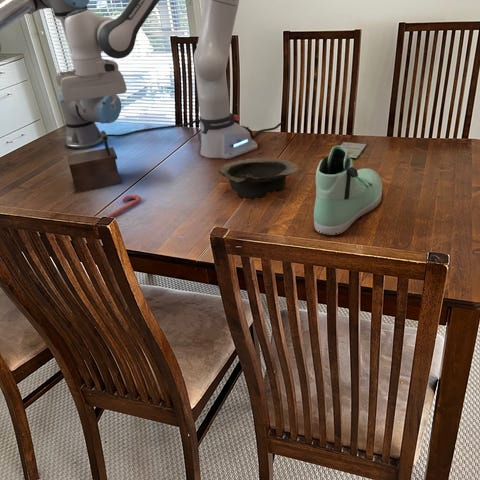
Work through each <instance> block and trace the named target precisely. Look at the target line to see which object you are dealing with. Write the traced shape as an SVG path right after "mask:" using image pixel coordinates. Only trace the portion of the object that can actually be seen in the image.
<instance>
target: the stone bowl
mask: <svg viewBox="0 0 480 480" xmlns="http://www.w3.org/2000/svg"><path fill="white" fill-rule="evenodd" d="M298 170H299V169H298V167H297V166H296V164H295V163H293V162H291V161H289V160H287V159H281V158H272V157H271V158H269V157H255V158H243V159H239V160H235V161H232V162H231V161H230V162H228V163H225V164H223V165H222V166H221V168H220V169H219V170H217V173H219V174H220V175H221V176H223V177H224V178H226V179H227V180H228V182H229V186H230V188H231V190H232V191H234V192H235V193H236V196H237V198H239V199H241V200H243V199H245V200H251V201H252V200H255V199H257V200H262V199H264V198H266V197H267V196H268V193H269V194H273V193H281V192H282V191H284V190H285V189H284V188H285V185H286V183H287V182H286V181H287V177H289V176H290V175H292V174H294V173H296V172H297V171H298Z"/></svg>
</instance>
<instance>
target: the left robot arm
mask: <svg viewBox="0 0 480 480" xmlns="http://www.w3.org/2000/svg"><path fill="white" fill-rule="evenodd" d="M89 2H90V0H0V32H1V31H2V30H4V29H5V28H7V27H9V26H10V25H11V24H14V22H16V21H18V20H19V19H21V18H22V17H23V16H25V15H26V14H27V15H32V14H35V12H37V11H40V10H45V9H52V12H53V15H54V17H55V18H56V19H58V20H59V21H60V22H61V25H62V28H63V31H64V35H65V37H66V41H67V42H68V40H67V35H66V30H65V18H66V16H67V15H68V14H69V13H71V12H73V11H75V10H79V9H88V5H89ZM68 47H69V50H70V53H71V54H72V51H71V48H70V46H69V45H68ZM1 52H2V44H1V43H0V53H1ZM58 100H59V105H60V108H61V113H62V116H63V119H64V123H65V126H66V133H65V144H66V148H68V149H70V150H85V149H92V148H94V147H97V146H99V145H102V143H104V140H103V138H102V135H101V130H100V129H99V127H98V125H97V124H96V123H98V124H99V123H100V124H112V123H114V122H116V121H117V120H118V119H119V117H120V114H121V112H122V101H121V98H120V97H119V95H117V100H116V103H115V107H116V109H111V107H110V103H112V101H113V97H112V95H110V96H104V97H98V98H91V99H85V100H80V105H81V106H82V107H85V109H86V113H87V114H82V112H81V109H80V108H79V107H78V106H77V105H76V103H75V101H73V102H65V101H64V100H63V98H62V93H61V91H60V92H59V93H58ZM195 123H199V124H200V119H194V120H192V121H190V122H186V123H180V124H174V125H166V126H165V125H163V126H157V127H149V128H143V129H137V130H132V131H128V132H125V133H120V134H119V133H118V134H108V133H107V134H106V135H107V137H108V138H109V137H110V138H111V137H112V138H120V137H126V136H129V135H133V134H137V133H142V132H149V131H156V130H164V129H173V128H180V127H187V126H191V125H193V124H195Z"/></svg>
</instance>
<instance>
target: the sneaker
mask: <svg viewBox="0 0 480 480" xmlns="http://www.w3.org/2000/svg"><path fill="white" fill-rule="evenodd" d="M317 165H318V166H317V168H316V172H315V201H314V207H313V225H314V229H315V231H316V232H318V233H320V234H323V235H326V236H327V235H328V236H336V235H339V234H342V233H344V232H345V231H347V230H348V229H349V228H350V227H351V226H352V225H353V224H354V222H356V221H357V220H358V219H359V218H360V217H362V216H363V215H365V214H367V213H370V212H372V210H374V209H375V208H377V207H378V205H380V203H381V200H382V196H383V184H382V183H383V182H382V179H381V176H380V175H379V173H378V172H377V171H376V170H374V169H372V168H367V167H365V168H358V169H357V168H355V167H354V161H353V159H352V158H351V157H350V156H349V153H348V152H347V150H346V149H345V148H344V147H342V146H341V145H334V146H333V147H331V149H330V151H329V154H327V155H326V156H325V157H324V158H322V159H321V160H320V161H319V163H318V164H317ZM343 230H344V231H343ZM319 231H320V232H319ZM322 232H323V233H322ZM339 232H340V233H339ZM326 233H327V234H326ZM328 233H329V234H328ZM335 233H337V234H335Z"/></svg>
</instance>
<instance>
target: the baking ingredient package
mask: <svg viewBox="0 0 480 480" xmlns="http://www.w3.org/2000/svg"><path fill="white" fill-rule="evenodd" d="M340 146H342V147H344V148H345V149H346V150H347V152H348V153H349V156H350V159H352V158H354V159H357V158H358V157H359V155H360V154H361V153H362V151H363V150H364V149H365V147H366V146H367V143H358V142H347V141H343V142H342V143H341V144H340Z"/></svg>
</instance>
